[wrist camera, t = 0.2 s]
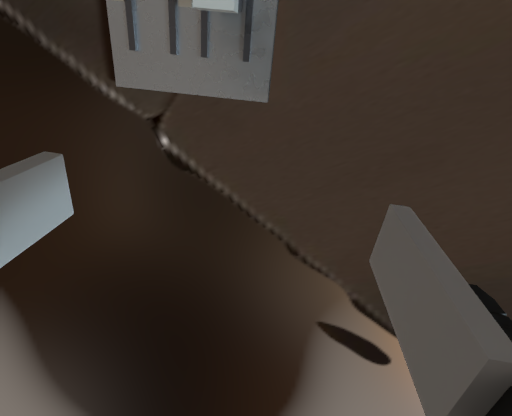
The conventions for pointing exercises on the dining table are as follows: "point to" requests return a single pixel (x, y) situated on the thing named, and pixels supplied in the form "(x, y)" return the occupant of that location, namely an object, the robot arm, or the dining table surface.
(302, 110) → the dining table surface
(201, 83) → the console
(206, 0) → the fader
